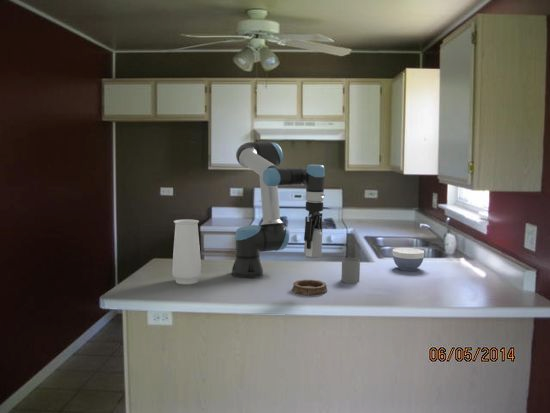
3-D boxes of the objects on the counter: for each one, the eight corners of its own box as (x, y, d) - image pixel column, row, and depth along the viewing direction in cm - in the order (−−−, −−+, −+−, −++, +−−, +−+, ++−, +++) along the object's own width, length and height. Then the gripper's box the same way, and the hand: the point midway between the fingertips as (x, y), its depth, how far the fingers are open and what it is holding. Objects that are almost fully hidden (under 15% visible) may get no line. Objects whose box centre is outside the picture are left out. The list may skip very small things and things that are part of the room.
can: (302, 254, 230) (303, 227, 228) (319, 254, 231) (320, 227, 229) (305, 258, 222) (306, 230, 221) (322, 258, 223) (324, 230, 221)
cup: (358, 283, 241) (359, 262, 240) (340, 282, 243) (341, 261, 242) (359, 279, 250) (360, 258, 249) (342, 278, 251) (342, 257, 250)
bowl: (427, 267, 274) (428, 249, 273) (418, 273, 261) (418, 255, 260) (397, 263, 283) (398, 246, 282) (387, 269, 270) (388, 251, 269)
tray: (286, 292, 225) (286, 285, 225) (301, 284, 239) (301, 277, 238) (319, 297, 219) (319, 290, 218) (332, 288, 232) (332, 282, 232)
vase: (205, 283, 239) (205, 222, 235) (178, 286, 232) (177, 224, 229) (194, 276, 250) (194, 218, 246) (168, 280, 243) (167, 220, 240)
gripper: (313, 204, 212) (311, 260, 216) (331, 199, 231) (329, 250, 234) (296, 203, 216) (295, 257, 219) (315, 198, 234) (313, 248, 237)
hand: (312, 254), depth 226 cm, fingers closed on can, 7 cm apart
